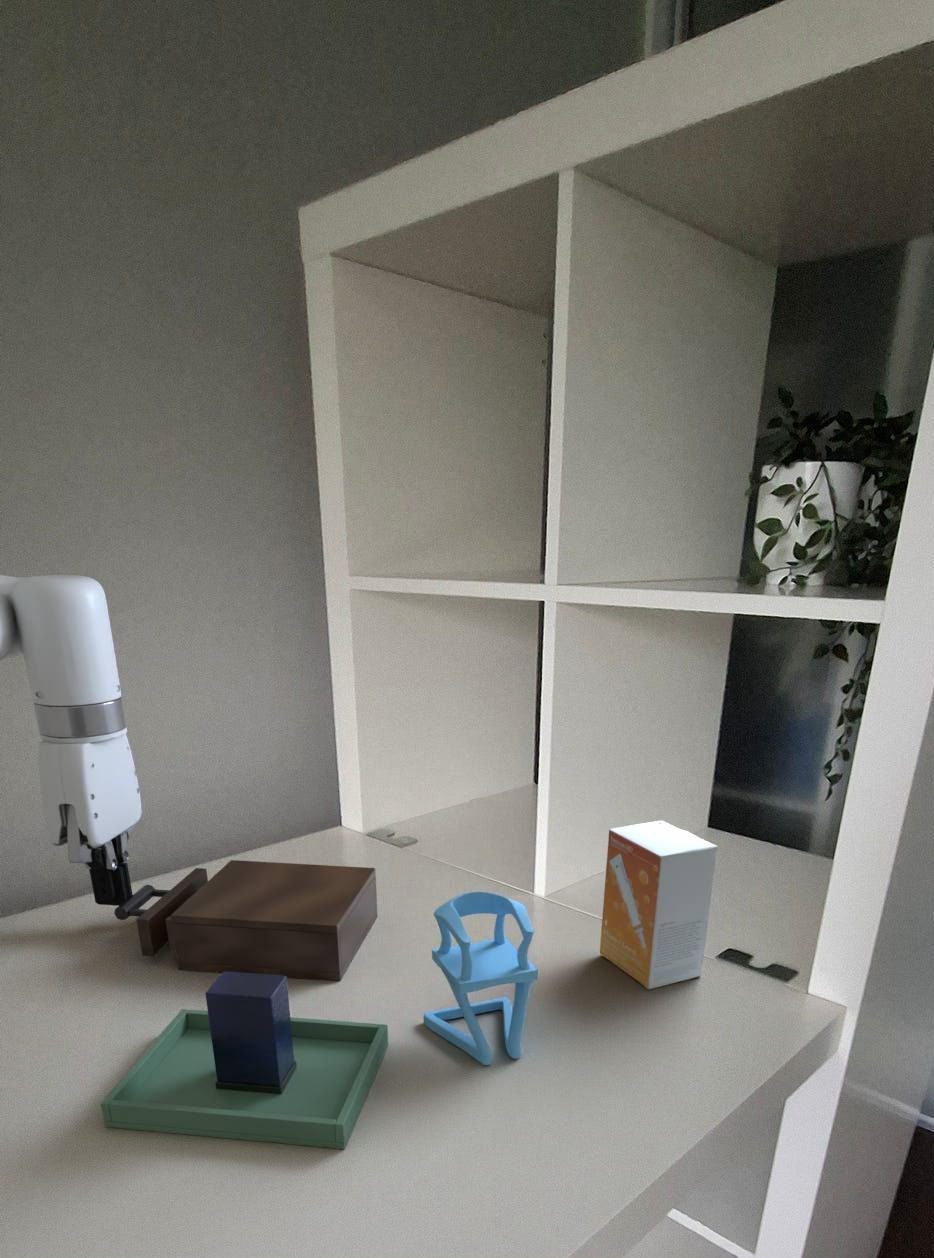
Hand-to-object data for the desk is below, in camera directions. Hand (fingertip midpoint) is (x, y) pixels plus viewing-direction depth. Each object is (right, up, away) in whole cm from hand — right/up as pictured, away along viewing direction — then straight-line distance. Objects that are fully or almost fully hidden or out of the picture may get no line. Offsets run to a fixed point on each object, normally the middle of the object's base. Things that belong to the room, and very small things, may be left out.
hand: (114, 901), depth 91 cm
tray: (+20, -14, -23) cm, 34 cm away
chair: (+37, -12, -17) cm, 42 cm away
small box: (+53, -6, -5) cm, 54 cm away
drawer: (+11, -3, 0) cm, 11 cm away
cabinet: (+17, -4, -1) cm, 18 cm away
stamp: (+20, -14, -23) cm, 34 cm away
